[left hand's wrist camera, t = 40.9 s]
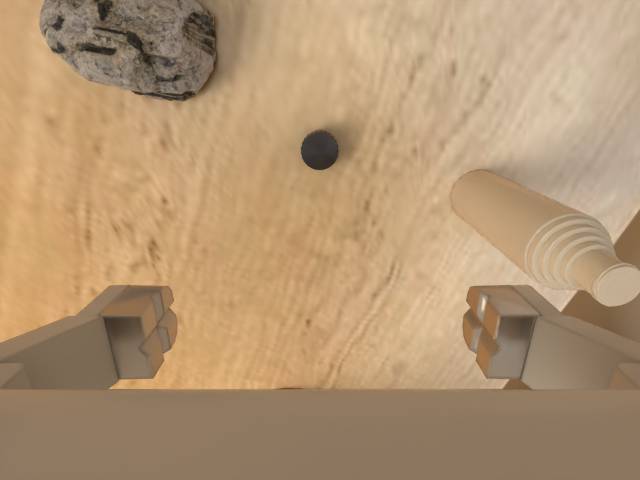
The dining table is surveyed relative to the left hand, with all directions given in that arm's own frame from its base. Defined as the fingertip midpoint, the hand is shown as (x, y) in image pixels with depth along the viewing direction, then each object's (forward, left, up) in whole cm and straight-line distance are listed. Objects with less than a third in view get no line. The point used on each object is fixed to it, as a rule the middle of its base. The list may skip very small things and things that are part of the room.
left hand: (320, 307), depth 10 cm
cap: (0, 0, -31) cm, 31 cm away
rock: (+9, +18, -32) cm, 38 cm away
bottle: (-3, -18, -32) cm, 37 cm away
